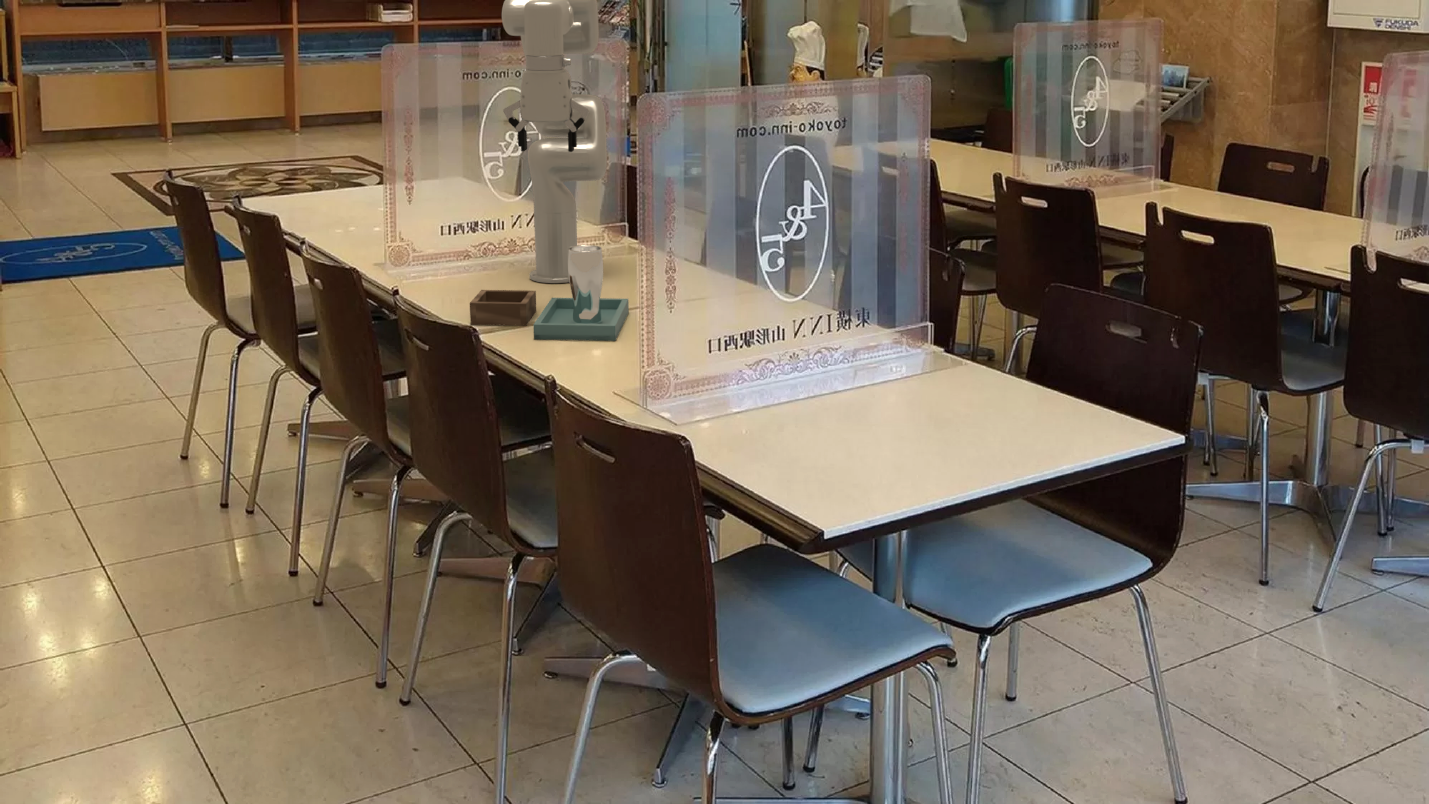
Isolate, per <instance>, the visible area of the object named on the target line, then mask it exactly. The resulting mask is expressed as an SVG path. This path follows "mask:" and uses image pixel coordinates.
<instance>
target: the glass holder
mask: <svg viewBox="0 0 1429 804" xmlns="http://www.w3.org/2000/svg"><path fill="white" fill-rule="evenodd" d="M475 295H476V296H474V298H473V299H472V300H471V301H470V302H469V318H470V326H521V327H522V326H523V327H525V326H528V324H529V323H530V322H531V320H533V318H534V315H536V314H537V291H536V290H525V289H524V290H523V289H521V290H520V289H517V290H515V289H514V290H513V289H511V290H506V289H481V290H480V291H479V292H478V293H477V294H475Z"/></svg>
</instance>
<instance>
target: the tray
mask: <svg viewBox="0 0 1429 804" xmlns="http://www.w3.org/2000/svg"><path fill="white" fill-rule="evenodd" d="M629 303H630V301H629V298H614V297H613V298H611V297H609V298H607V297H605V298H604V297H603V298H602V297H600V311H601V315H602V322H601V323H599V324H574V323H572V316H573V297H551V298H550V300H549V301H548V303H547V304H546V306H545V307H544V308H543V310H542V311H541V313H540V314H539V316H538V317H537V319H535V321H534V323H533V325H532V327H533V340H537V341H538V340H542V341H544V340H545V341H547V340H548V341H597V342H598V341H605V342H608V341H609V342H610V341H611V342H616V340H617V339H618V337H619V336H620V332H621V331H622V328H623V325H624V324H625V321H626V320H627V317H628V316H629V309H630V308H629V307H630V306H629V305H630V304H629Z"/></svg>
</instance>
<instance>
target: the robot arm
mask: <svg viewBox="0 0 1429 804" xmlns="http://www.w3.org/2000/svg"><path fill="white" fill-rule="evenodd" d="M598 11H599V9H598V1H597V0H504V1H503V5H502V8H501V21H502V26H503V29H504V30H505V32H506V33H507V34H508V35H509V36H511V37H512V36H514V37H520V41H521V46H522V51H523V55H524V57H525V70H523V71H522V75H521V85H520V98H519V99H520V100H518V101H515V102H514V103H512V104H510V105H508V106H506V107H504V108H503V109H502V111H503V113H504V115H505V117H506V119H507V120H508V123H509V124H510V125H511V126H512V127H513V129H515V131H516V132H517V144H518V147H520V151H521V152H525V151H527V149H528V151H527V160H528V161H527V163H528V168H529V173H530V179H531V185H532V198H533V224H534V245H535V246H534V247H535V248H534V250H535V253H534V254H535V269H532V270H531V271H530V272H529V273H528V274H529V279H530V280H531V281H534V282H537V283H545V284H564V283H569V276H568V253H569V248H570V247H572V246H578V233H577V231H578V229H577V228H578V227H577V223H578V222H577V202H576V198H575V197H574V195H573V193H572V192H571V190H570V189H569V188H568V187H567V186H566V185H565V184H564V183H565V182H566V183H567V182H568V183H569V182H593V181H594V182H595V181H599V180H602V179H603V178H604V177H605V176H606V173H607V167H608V152H607V151H608V150H607V149H608V147H607V123H606V122H607V121H606V111H605V106H604V103H603V101H602V100H601V98H600V97H599V96H597V95H595V94H585V93H583V94H581V93H578V94H576V93H572V77H571V74H570V73H569V70H567V69H566V67H567V66H572V59H571V58H567V57H566V56H565V55H569V54H570V55H572V54H573V55H576V54H577V55H582V54H583V55H585V54H591V53H593V52H594V51H595V50H596V49H597V48H598V45H599V38H600V33H599V32H600V31H599V30H600V29H599V12H598ZM518 109H520V111H519V112H520V113H519V114H520V118H521V120H520V121H519V120H518V119H517V118H516V117H515V115H514V113H513V112H514V111H516V110H518ZM529 123H534V127H535V130H536V131H537V132H538V134H539V135H541V136H543V137H546V138H541V139H540V138H539V139H537V140H536V141H533V142H532V143H531V144H530V145H529V147H528V134H527V133H528V131H527V130H526V126H527V125H528V124H529Z"/></svg>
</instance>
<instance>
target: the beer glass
mask: <svg viewBox="0 0 1429 804" xmlns="http://www.w3.org/2000/svg"><path fill="white" fill-rule="evenodd" d="M602 249H603V248H602V247H601V246H600V245H594V244H592V245H591V244H579V245H578V244H577V246H572V247H570V248H569V253H568V276H569V282H568V283H569V286H570V291H571V296H572V297H571V298H573V316H572V323H574V324H599V323H601V322H602V315H601V311H600V298H601V293H602V288H603V282H604V281H603V279H604V260H603V250H602Z"/></svg>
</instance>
